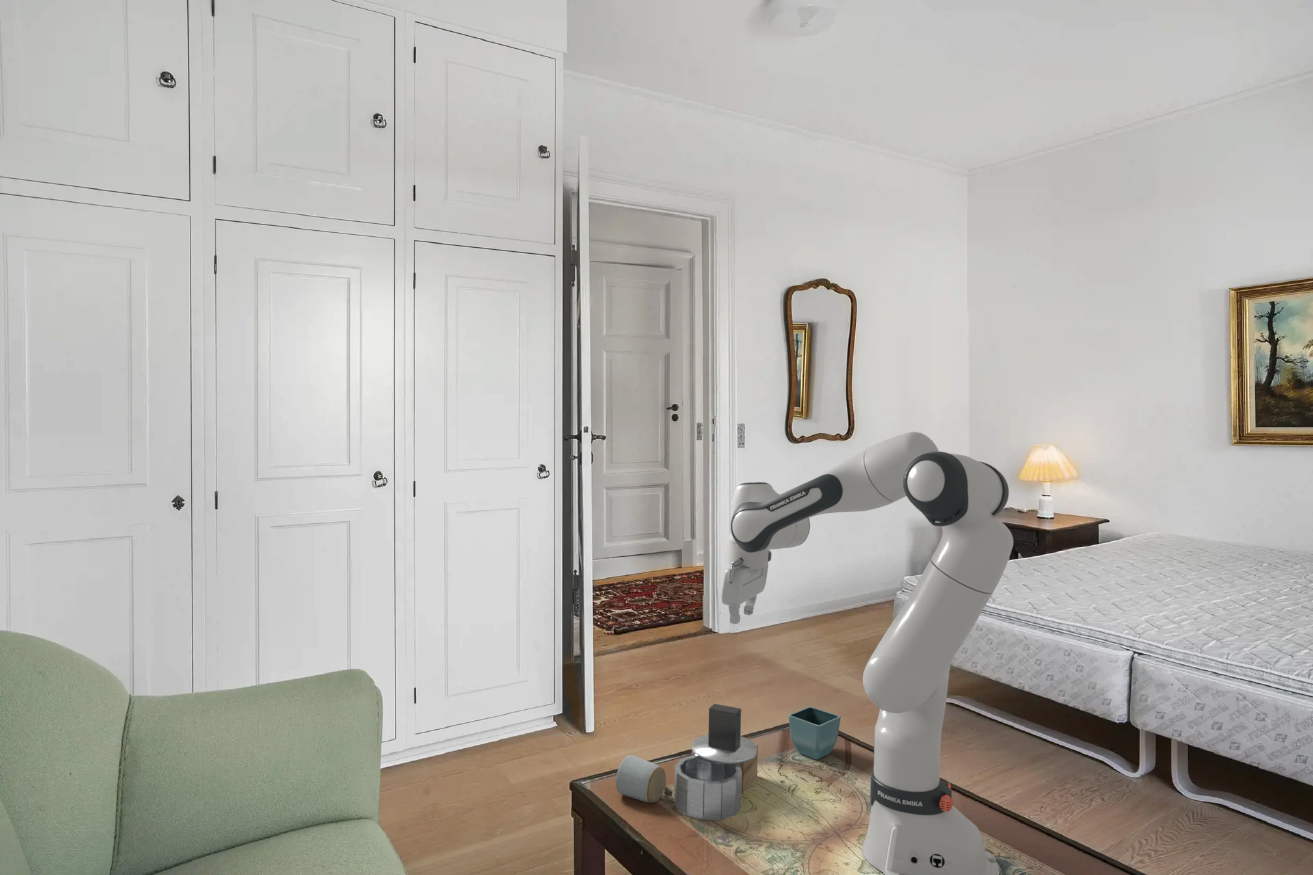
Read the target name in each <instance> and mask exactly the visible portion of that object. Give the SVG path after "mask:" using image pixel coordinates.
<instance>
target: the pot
mask: <svg viewBox="0 0 1313 875" xmlns="http://www.w3.org/2000/svg"><path fill="white" fill-rule="evenodd" d="M673 788H674V791H673V793H674V796H673V797H674V798H673V800H674V806H675V809H677V811H679V812H680V813H682V814H683V815H685V816H686V817H689V818H694V819H697V820H700V821H721V820H725V819H728V818H731V817H733V816H736V814H737V813H738V812H739V811H740V809H741V808H742V795H743V794H742V770H741V768H740V766H739V764H716V763H711V762H708V761H705V760H702V759H700V758H698V757H697V756H696V755H694V754H693V755H689V756H686V757H682V758H680V759H679V760H678V761H677V763H676V764H674V787H673Z"/></svg>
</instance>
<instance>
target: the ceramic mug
mask: <svg viewBox="0 0 1313 875" xmlns="http://www.w3.org/2000/svg"><path fill="white" fill-rule="evenodd" d="M666 785H667V775H666V771H665V770H664V768H663V767H661V765H659V764H656V763H654V762H651V761H649V760H646V759H644V758H641V757H639V756H636V755H633V754H629V755H626V756H625V757H624V758H623V760H622V761H621V763H620V764H619V767H618V769H617V772H616V776H615V788H616V791H617V792H618V793H619V794H620V795H622V796H625V797H628V798H631V799H635V800H638V801H641V802H643V803H648V804H649V803H650V804H653V803H655V802H657V801H658V800H659V799H661V797H662V795H663V794H664V791H665V789H666Z"/></svg>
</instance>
